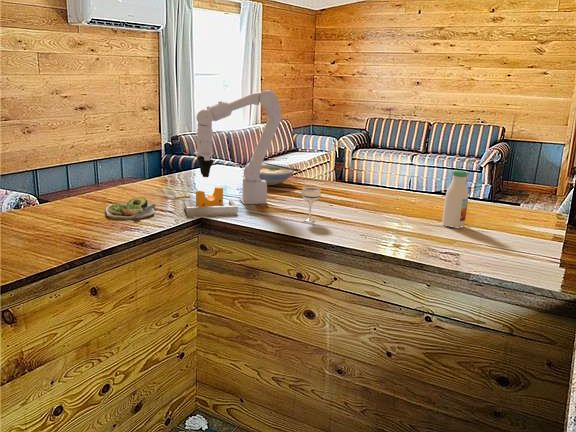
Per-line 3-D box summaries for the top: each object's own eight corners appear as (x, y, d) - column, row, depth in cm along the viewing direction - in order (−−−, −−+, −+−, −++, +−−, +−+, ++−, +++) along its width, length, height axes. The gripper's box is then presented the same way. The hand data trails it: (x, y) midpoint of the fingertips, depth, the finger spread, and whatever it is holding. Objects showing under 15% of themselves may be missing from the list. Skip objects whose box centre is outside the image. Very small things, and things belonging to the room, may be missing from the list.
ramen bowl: (232, 182, 245) (233, 164, 243) (269, 177, 260) (270, 160, 258) (267, 192, 227) (268, 173, 225) (305, 186, 242) (306, 168, 240)
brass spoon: (188, 196, 215) (188, 194, 215) (191, 197, 213) (191, 195, 213) (173, 197, 211) (173, 196, 211) (176, 199, 210) (176, 197, 209)
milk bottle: (452, 229, 184) (460, 173, 178) (437, 224, 190) (444, 169, 185) (468, 227, 187) (476, 172, 182) (453, 222, 194) (460, 168, 189)
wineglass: (309, 217, 192) (311, 184, 189) (323, 221, 187) (325, 188, 184) (296, 220, 187) (297, 187, 184) (310, 224, 183) (311, 190, 179)
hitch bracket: (231, 206, 201) (232, 199, 201) (237, 214, 191) (237, 206, 190) (184, 207, 197) (184, 200, 196) (187, 216, 186) (187, 208, 185)
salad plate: (161, 221, 180) (161, 208, 179) (106, 224, 174) (105, 210, 173) (155, 207, 197) (155, 195, 196) (105, 209, 191) (104, 196, 190)
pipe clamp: (214, 202, 208) (214, 186, 206) (222, 203, 206) (223, 187, 204) (192, 207, 199) (192, 190, 197) (200, 209, 196) (200, 192, 194)
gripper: (192, 138, 209) (192, 172, 212) (196, 143, 195) (196, 179, 199) (210, 138, 210) (210, 172, 214) (215, 143, 197) (215, 179, 201)
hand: (204, 175), depth 207 cm, fingers open, 4 cm apart
